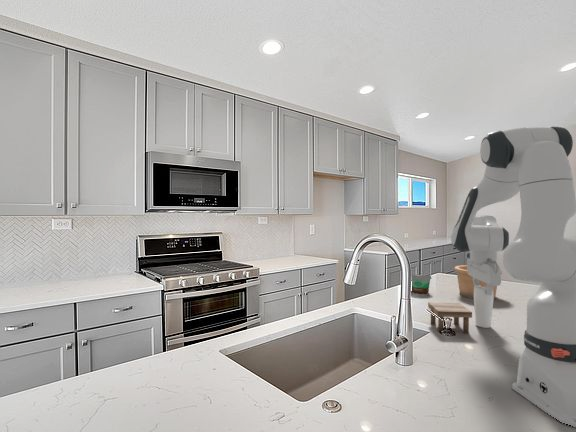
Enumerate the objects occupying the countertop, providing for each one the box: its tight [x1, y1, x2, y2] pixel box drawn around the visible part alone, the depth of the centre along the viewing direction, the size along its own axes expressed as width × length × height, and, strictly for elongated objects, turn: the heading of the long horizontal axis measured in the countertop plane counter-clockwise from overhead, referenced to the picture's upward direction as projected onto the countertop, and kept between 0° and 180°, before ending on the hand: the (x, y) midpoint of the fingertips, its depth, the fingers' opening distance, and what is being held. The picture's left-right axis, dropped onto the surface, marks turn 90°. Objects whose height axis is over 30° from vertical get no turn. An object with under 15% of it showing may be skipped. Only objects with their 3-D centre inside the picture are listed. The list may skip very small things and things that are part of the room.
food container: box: [411, 274, 432, 295], centre depth 183 cm, size 12×6×10 cm, turn 73°
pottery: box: [454, 264, 503, 299], centre depth 178 cm, size 22×22×14 cm
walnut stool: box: [427, 301, 473, 334], centre depth 130 cm, size 12×12×8 cm
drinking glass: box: [473, 286, 495, 329], centre depth 131 cm, size 7×7×15 cm
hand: (482, 291), depth 132 cm, fingers open, 8 cm apart
